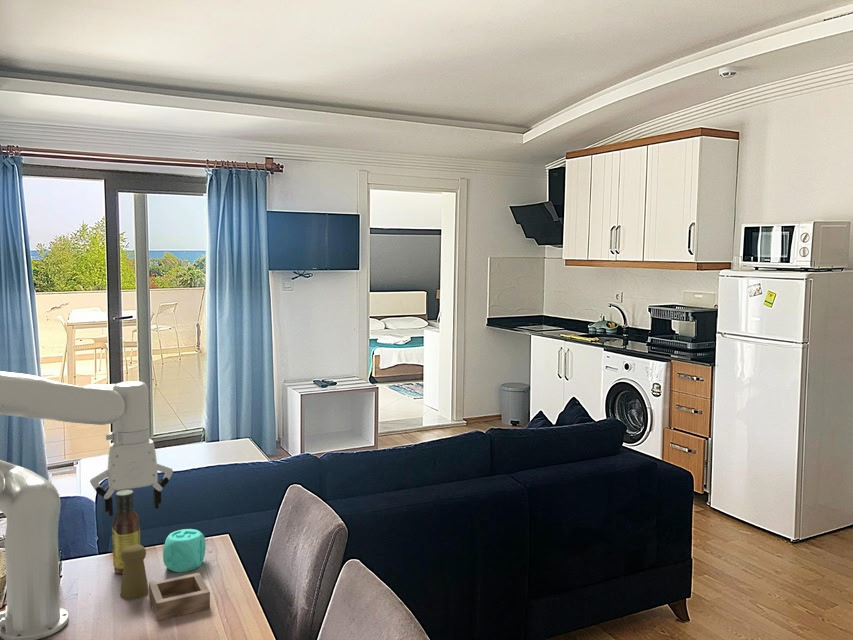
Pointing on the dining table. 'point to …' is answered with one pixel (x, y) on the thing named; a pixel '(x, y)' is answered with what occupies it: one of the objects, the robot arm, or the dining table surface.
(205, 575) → the dining table surface
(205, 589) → the shaker holder
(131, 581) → the cork
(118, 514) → the sauce bottle
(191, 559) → the decorative dice
